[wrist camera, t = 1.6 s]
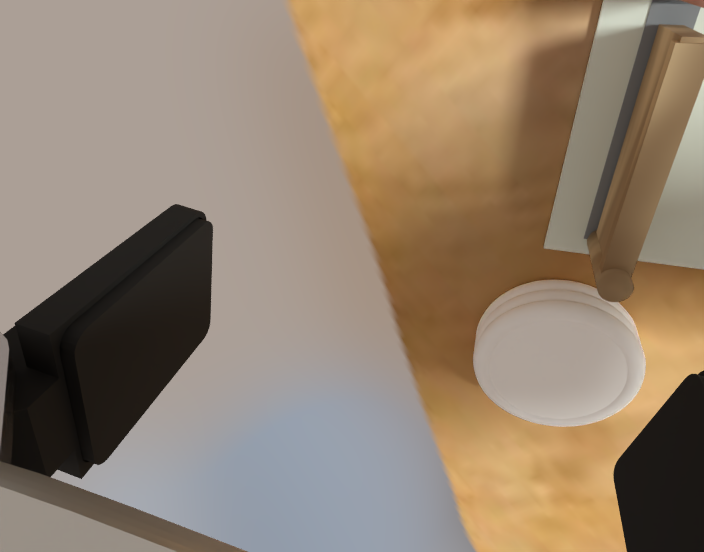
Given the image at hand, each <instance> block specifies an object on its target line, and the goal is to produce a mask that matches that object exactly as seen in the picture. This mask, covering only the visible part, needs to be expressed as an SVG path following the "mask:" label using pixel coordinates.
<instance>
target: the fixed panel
mask: <svg viewBox="0 0 704 552" xmlns="http://www.w3.org/2000/svg"><path fill="white" fill-rule="evenodd" d="M703 80H704V34H702V33H699V32H697V31H695V30H693V29H691V28H689V27H687V26H685V25H665V24H659V26H658V30H657V33H656V36H655V40H654V43H653V46H652V50H651V53H650V56H649V59H648V63H647V66H646V69H645V73H644V76H643V79H642V83H641V86H640V89H639V93H638V96H637V99H636V102H635V106H634V109H633V112H632V116H631V119H630V122H629V126H628V129H627V132H626V136H625V139H624V142H623V145H622V149H621V152H620V155H619V159H618V162H617V165H616V169H615V172H614V175H613V179H612V182H611V185H610V188H609V192H608V195H607V198H606V202H605V205H604V208H603V212H602V215H601V218H600V222H599V225H598V228H597V230H595V231H593V232H592V233H591V234H590V235H589V237H588V239H587V246H588V250H589V255H590V259H591V264H592V268H593V273H594V277H595V282H596V286H597V291H598V294H599V296H600V297H601V298H602V299H604V300H606V301H609V302H620V301H623V300H625V299H627V298H628V297H630V295H631V294H632V293H633V290H634V285H633V282H632V279H631V277H632V274H633V271H634V269H635V266H636V263H637V261H638V258H639V255H640V252H641V250H642V247H643V244H644V241H645V239H646V236H647V233H648V230H649V228H650V225H651V222H652V219H653V217H654V214H655V211H656V208H657V206H658V203H659V200H660V198H661V195H662V192H663V189H664V187H665V184H666V181H667V178H668V176H669V173H670V170H671V167H672V165H673V162H674V159H675V156H676V154H677V151H678V148H679V145H680V143H681V140H682V137H683V135H684V132H685V129H686V126H687V124H688V121H689V118H690V115H691V113H692V110H693V107H694V104H695V102H696V99H697V96H698V93H699V91H700V88H701V85H702V82H703Z"/></svg>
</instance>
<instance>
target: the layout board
mask: <svg viewBox="0 0 704 552" xmlns="http://www.w3.org/2000/svg"><path fill="white" fill-rule="evenodd" d="M659 24H665V25H685V26H687V27H689V28H691V29H693V30H695V31H697V32H699V33H702V34H704V8H702V7H699V6H696V5H693V4H690V3H687V2H684V1H680V0H603V2H602V6H601V11H600V15H599V19H598V23H597V27H596V31H595V35H594V40H593V44H592V48H591V52H590V56H589V60H588V64H587V68H586V73H585V77H584V81H583V85H582V89H581V93H580V97H579V101H578V106H577V110H576V114H575V118H574V122H573V126H572V130H571V135H570V139H569V143H568V147H567V151H566V155H565V159H564V163H563V168H562V172H561V176H560V180H559V184H558V188H557V192H556V197H555V201H554V205H553V209H552V213H551V217H550V221H549V225H548V230H547V234H546V238H545V242H544V248H545V249H552V250H560V251H567V252H575V253H582V254H589V250H588V246H587V239H588V237H589V235H590V234H591V233H592V232H593V231H595V230H597V228H598V225H599V222H600V218H601V215H602V212H603V208H604V205H605V202H606V198H607V195H608V192H609V188H610V185H611V182H612V179H613V175H614V172H615V169H616V165H617V162H618V159H619V155H620V152H621V149H622V145H623V142H624V139H625V136H626V132H627V129H628V126H629V122H630V119H631V116H632V112H633V109H634V106H635V102H636V99H637V96H638V93H639V89H640V86H641V83H642V79H643V76H644V73H645V69H646V66H647V63H648V59H649V56H650V53H651V50H652V46H653V43H654V40H655V36H656V33H657V30H658V26H659ZM638 261H643V262H650V263H658V264H665V265H673V266H681V267H688V268H696V269H703V270H704V80H703V82H702V85H701V88H700V91H699V93H698V96H697V99H696V102H695V104H694V107H693V110H692V113H691V115H690V118H689V121H688V124H687V126H686V129H685V132H684V135H683V137H682V140H681V143H680V145H679V148H678V151H677V154H676V156H675V159H674V162H673V165H672V167H671V170H670V173H669V176H668V178H667V181H666V184H665V187H664V189H663V192H662V195H661V198H660V200H659V203H658V206H657V208H656V211H655V214H654V217H653V219H652V222H651V225H650V228H649V230H648V233H647V236H646V239H645V241H644V244H643V247H642V250H641V252H640V255H639V258H638Z"/></svg>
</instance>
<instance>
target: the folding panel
mask: <svg viewBox="0 0 704 552" xmlns="http://www.w3.org/2000/svg"><path fill="white" fill-rule="evenodd" d="M680 1H684V2H687V3H690V4H693V5H696V6H699V7H702V8H704V0H680Z"/></svg>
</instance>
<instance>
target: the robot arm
mask: <svg viewBox="0 0 704 552" xmlns="http://www.w3.org/2000/svg"><path fill="white" fill-rule="evenodd" d="M212 237H213V226H212V224H211V222H209V221H206V216H205V214H204V213H203V212H201V211H197V210H194V209H191V208H188V207H184V206H181V205H177V204H175V205H173V206H171V207H170V208H168V209H167V210H166V211H164V212H163V213H161V214H160V215H159V216H158V217H156V218H155V219H153V220H152V221H151V222H149V223H148V224H147V225H145V226H144V227H143V228H141V229H140V230H139V231H138V232H136V233H135V234H133V235H132V236H131V237H129V238H128V239H127V240H125V241H124V242H123V243H121V244H120V245H119V246H117V247H116V248H115V249H113V250H112V251H111V252H109V253H108V254H107V255H105V256H104V257H103V258H101V259H100V260H99V261H97V262H96V263H94V264H93V265H92V266H90V267H89V268H88V269H86V270H85V271H84V272H82V273H81V274H80V275H78V276H77V277H76V278H74V279H73V280H72V281H70V282H69V283H68V284H66V285H65V286H64V287H63V288H61V289H60V290H58V291H57V292H56V293H55V294H53V295H52V296H50V297H49V298H48V299H46V300H45V301H44V302H42V303H41V304H40V305H38V306H37V307H36V308H34V309H33V310H32V311H30V312H29V313H28V314H26V315H25V316H23V317H22V318H21V319H19V320H18V321H17V322H15V326H14V327H13V328H11V329H10V330H9V331H7V332H6V333H5V334H1V332H0V552H247V551H245V550H242V549H239V548H237V547H234V546H231V545H229V544H226V543H224V542H221V541H219V540H216V539H213V538H210V537H208V536H206V535H203V534H200V533H198V532H195V531H193V530H190V529H187V528H185V527H182V526H180V525H177V524H174V523H172V522H169V521H167V520H164V519H162V518H159V517H156V516H154V515H151V514H148V513H146V512H143V511H141V510H138V509H136V508H133V507H130V506H127V505H125V504H122V503H119V502H117V501H114V500H111V499H108V498H106V497H103V496H100V495H97V494H94V493H92V492H89V491H86V490H84V489H81V488H78V487H75V486H72V485H70V484H67V483H64V482H62V481H59V480H56V479H53V478H51V476H52V475H53V474H54V473H55V471H56V470H60V471H63V472H65V473H68V474H70V475H73V476H75V477H78V478H81V479H82V478H83V476H84V475H85V474H86V473H87V472H88V470H89V469H90V468H91V467H92V465H93V464H97V465H100V464H102V463H103V462H105V461H106V460H107V459H108V458H109V456H110V455H111V454H112V453H113V451H114V450H115V449H116V448H117V446H118V445H119V444H120V443H121V441H122V440H123V439H124V438H125V436H126V435H127V434H128V433H129V431H130V430H131V429H132V428H133V426H134V425H135V424H136V423H137V421H138V420H139V419H140V418H141V416H142V415H143V414H144V413H145V411H146V410H147V409H148V408H149V406H150V405H151V404H152V403H153V401H154V400H155V399H156V398H157V396H158V395H159V394H160V393H161V391H162V390H163V389H164V388H165V386H166V385H167V384H168V383H169V382H170V380H171V379H172V378H173V377H174V375H175V374H176V373H177V371H178V370H179V369H180V368H181V366H182V365H183V364H184V363H185V361H186V360H187V359H188V358H189V357H190V355H191V354H192V353H193V352H194V350H195V349H196V348H197V346H198V345H199V344H200V343H201V342H202V340H203V339H204V338H205V336H206V334H207V332H208V329H209V326H210V313H211V275H212V240H213V238H212ZM614 483H615V489H616V494H617V500H618V505H619V511H620V516H621V521H622V527H623V532H624V538H625V543H626V549H627V552H704V371H702V372H700V373H699V374H698V375H697V374H691V375H689V376H687V377H686V378H685V379H684V381H683V382H682V383H681V384H680V386H679V387H678V388H677V389H676V390H675V392H674V393H673V394H672V395H671V396H670V398H669V399H668V400H667V401H666V402H665V404H664V405H663V406H662V407H661V408H660V410H659V411H658V412H657V413H656V414H655V416H654V417H653V418H652V419H651V421H650V422H649V423H648V424H647V425H646V427H645V428H644V429H643V430H642V431H641V433H640V434H639V435H638V436H637V437H636V439H635V440H634V441H633V442H632V443H631V445H630V446H629V447H628V448H627V450H626V451H625V452H624V453H623V454H622V456H621V457H620V458H619V459H618V461H617V463H616V465H615V468H614Z"/></svg>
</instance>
